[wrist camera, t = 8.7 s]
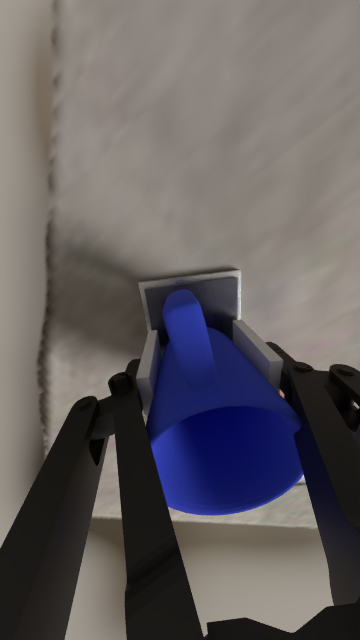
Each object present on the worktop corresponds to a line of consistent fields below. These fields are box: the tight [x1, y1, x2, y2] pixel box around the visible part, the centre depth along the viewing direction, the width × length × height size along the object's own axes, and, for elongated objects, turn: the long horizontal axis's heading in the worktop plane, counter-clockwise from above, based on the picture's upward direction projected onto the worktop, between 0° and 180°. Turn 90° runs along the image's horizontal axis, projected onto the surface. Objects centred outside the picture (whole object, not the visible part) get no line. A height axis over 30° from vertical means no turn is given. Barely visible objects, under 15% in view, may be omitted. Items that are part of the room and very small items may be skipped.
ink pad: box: [138, 269, 241, 358], centre depth 18 cm, size 11×9×1 cm
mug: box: [146, 289, 304, 515], centre depth 12 cm, size 8×12×10 cm
